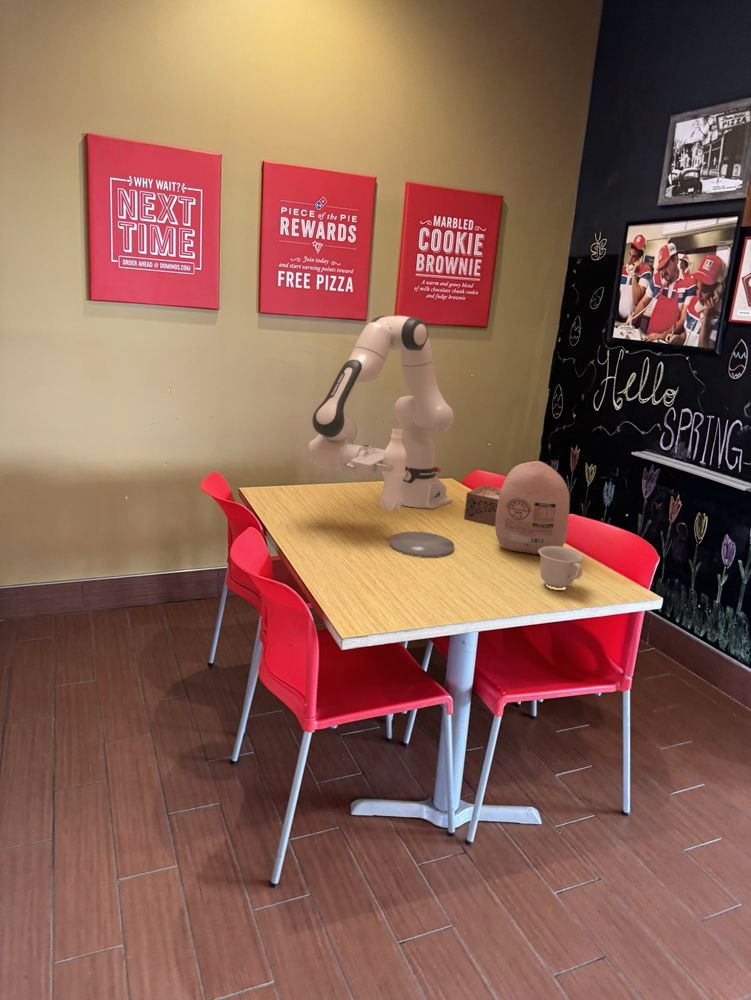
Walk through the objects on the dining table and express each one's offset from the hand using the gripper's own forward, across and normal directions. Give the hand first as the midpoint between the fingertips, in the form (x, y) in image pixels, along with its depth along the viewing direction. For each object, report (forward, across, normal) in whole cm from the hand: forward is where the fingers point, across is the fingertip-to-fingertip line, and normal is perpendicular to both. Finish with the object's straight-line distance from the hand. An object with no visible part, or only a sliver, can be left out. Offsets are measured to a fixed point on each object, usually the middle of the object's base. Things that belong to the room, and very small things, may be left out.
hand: (396, 466), depth 221 cm
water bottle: (-1, 0, +14) cm, 14 cm away
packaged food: (+41, +13, +24) cm, 49 cm away
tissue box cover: (+28, +40, +24) cm, 54 cm away
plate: (+10, -1, +24) cm, 26 cm away
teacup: (+55, -12, +24) cm, 61 cm away
